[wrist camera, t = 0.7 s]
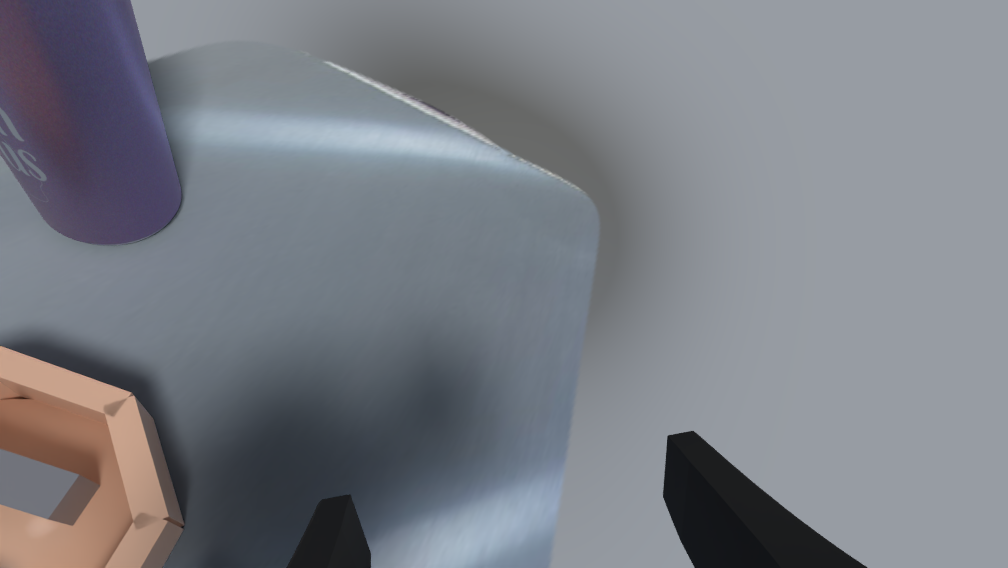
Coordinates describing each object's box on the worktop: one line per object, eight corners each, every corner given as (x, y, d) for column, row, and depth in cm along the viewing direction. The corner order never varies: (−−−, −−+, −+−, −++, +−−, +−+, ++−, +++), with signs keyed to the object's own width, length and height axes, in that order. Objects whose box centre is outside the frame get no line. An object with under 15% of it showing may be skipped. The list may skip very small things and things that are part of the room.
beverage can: (209, 203, 28) (151, -83, 16) (110, 274, 25) (-59, -22, 13) (121, 140, 28) (-3, -194, 16) (10, 202, 25) (-256, -164, 13)
